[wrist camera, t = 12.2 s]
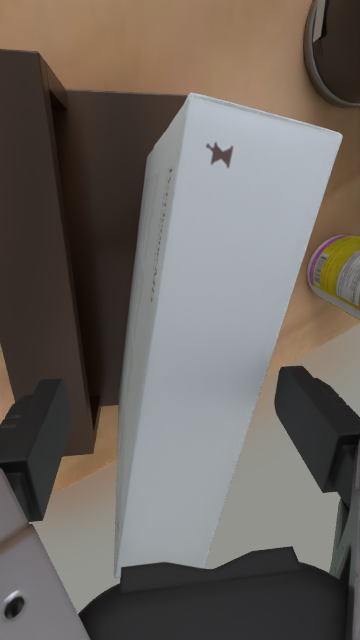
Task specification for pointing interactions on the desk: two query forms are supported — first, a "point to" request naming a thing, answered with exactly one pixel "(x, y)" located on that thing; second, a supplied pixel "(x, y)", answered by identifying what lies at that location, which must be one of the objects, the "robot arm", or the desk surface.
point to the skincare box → (207, 313)
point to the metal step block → (70, 231)
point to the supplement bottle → (337, 272)
